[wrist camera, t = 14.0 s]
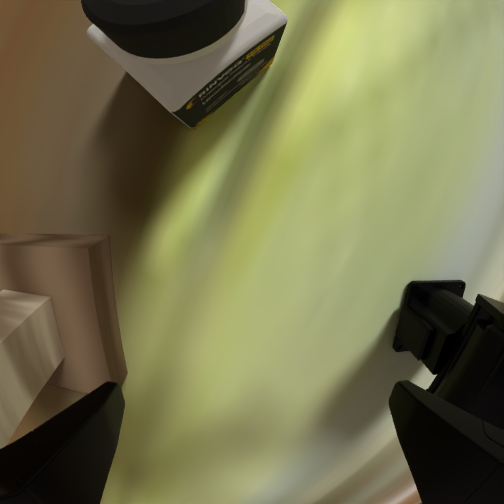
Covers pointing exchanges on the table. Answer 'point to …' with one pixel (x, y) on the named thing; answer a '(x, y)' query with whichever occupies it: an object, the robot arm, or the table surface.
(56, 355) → the birch block
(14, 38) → the table surface
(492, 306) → the robot arm
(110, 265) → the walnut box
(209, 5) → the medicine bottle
